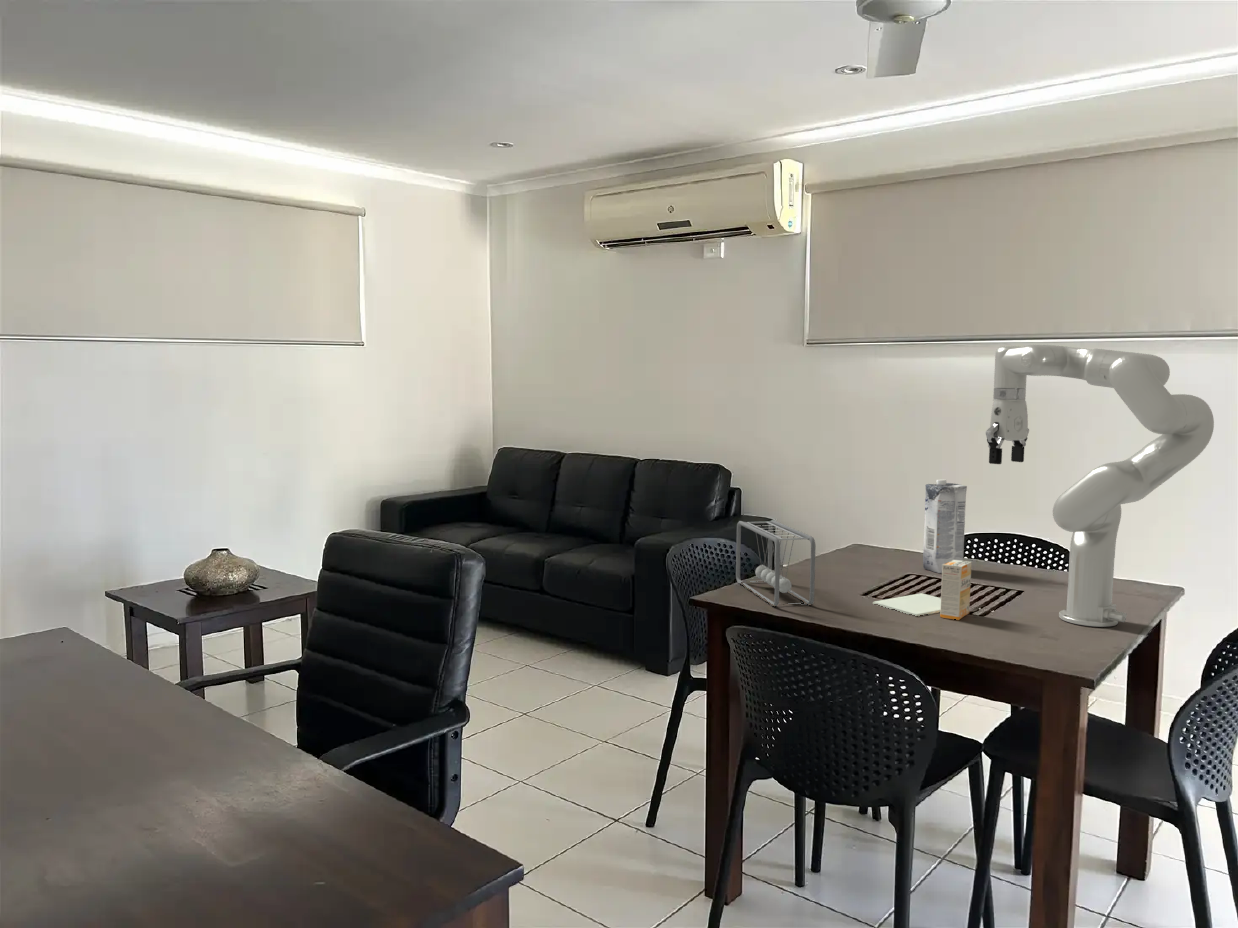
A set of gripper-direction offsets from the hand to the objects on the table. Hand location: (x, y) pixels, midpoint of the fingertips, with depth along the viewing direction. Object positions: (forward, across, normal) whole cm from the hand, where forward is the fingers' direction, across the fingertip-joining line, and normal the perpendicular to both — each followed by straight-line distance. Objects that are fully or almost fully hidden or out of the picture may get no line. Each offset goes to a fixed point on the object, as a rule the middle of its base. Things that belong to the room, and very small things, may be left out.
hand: (1006, 462), depth 236 cm
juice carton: (+36, +19, +31) cm, 51 cm away
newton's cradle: (+36, -44, +38) cm, 68 cm away
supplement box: (+36, -23, -2) cm, 43 cm away
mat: (+36, -22, +8) cm, 43 cm away
